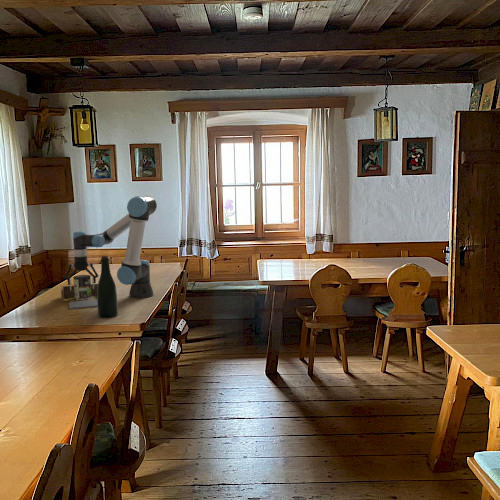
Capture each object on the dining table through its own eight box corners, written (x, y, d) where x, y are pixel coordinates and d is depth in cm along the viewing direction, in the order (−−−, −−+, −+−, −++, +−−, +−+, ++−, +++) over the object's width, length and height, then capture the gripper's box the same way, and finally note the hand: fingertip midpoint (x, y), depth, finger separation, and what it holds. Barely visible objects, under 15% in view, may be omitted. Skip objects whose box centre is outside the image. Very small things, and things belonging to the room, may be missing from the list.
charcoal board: (98, 306, 297) (98, 305, 297) (69, 309, 292) (69, 307, 292) (97, 301, 312) (97, 299, 312) (69, 303, 307) (69, 301, 307)
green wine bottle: (101, 313, 282) (98, 254, 278) (120, 313, 282) (117, 254, 278) (95, 318, 272) (91, 257, 268) (114, 318, 272) (111, 257, 267)
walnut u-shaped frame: (104, 298, 318) (103, 287, 317) (61, 302, 310) (61, 291, 309) (103, 293, 332) (102, 283, 331) (62, 297, 324) (61, 286, 323)
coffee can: (94, 296, 325) (93, 274, 323) (86, 300, 315) (85, 277, 313) (80, 296, 327) (78, 274, 325) (71, 299, 317) (69, 277, 315)
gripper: (101, 254, 325) (102, 286, 328) (59, 256, 317) (61, 289, 320) (101, 255, 318) (103, 288, 321) (59, 257, 310) (61, 291, 313)
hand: (82, 289), depth 320 cm, fingers open, 13 cm apart
